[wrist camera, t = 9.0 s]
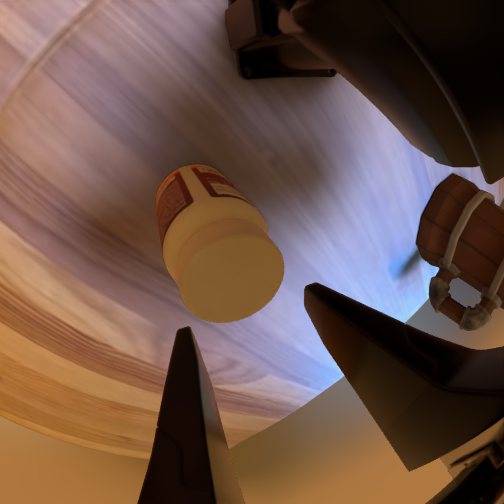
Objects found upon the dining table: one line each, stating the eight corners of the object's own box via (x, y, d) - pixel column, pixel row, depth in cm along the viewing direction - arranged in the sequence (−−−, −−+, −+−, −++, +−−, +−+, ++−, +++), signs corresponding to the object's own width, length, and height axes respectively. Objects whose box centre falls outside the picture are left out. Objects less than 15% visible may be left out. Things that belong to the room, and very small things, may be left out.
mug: (458, 154, 23) (562, 214, 12) (468, 212, 31) (542, 267, 19) (382, 252, 26) (486, 350, 14) (407, 292, 33) (477, 364, 22)
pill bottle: (172, 245, 18) (198, 345, 11) (143, 180, 15) (145, 260, 8) (238, 218, 18) (300, 301, 12) (219, 151, 15) (284, 203, 9)
